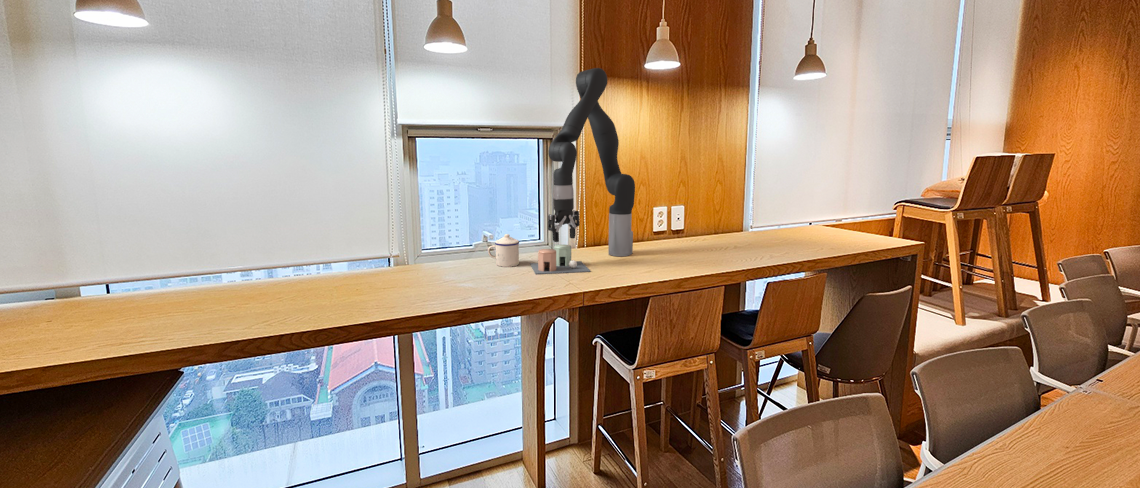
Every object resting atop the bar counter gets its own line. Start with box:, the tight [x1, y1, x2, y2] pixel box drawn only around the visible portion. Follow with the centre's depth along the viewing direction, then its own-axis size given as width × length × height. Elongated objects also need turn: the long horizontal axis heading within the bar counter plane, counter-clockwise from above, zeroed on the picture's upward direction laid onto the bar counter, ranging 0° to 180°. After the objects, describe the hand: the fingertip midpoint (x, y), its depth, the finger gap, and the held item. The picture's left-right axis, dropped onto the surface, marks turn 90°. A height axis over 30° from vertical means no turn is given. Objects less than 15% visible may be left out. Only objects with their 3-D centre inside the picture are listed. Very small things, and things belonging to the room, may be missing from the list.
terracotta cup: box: [537, 248, 556, 272], centre depth 199 cm, size 6×6×7 cm
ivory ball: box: [569, 259, 577, 268], centre depth 201 cm, size 3×3×3 cm
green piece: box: [553, 244, 572, 266], centre depth 207 cm, size 6×6×7 cm
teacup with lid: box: [487, 233, 520, 268], centre depth 208 cm, size 12×9×12 cm
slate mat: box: [529, 260, 592, 275], centre depth 204 cm, size 20×16×1 cm
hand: (564, 240), depth 206 cm, fingers open, 8 cm apart
